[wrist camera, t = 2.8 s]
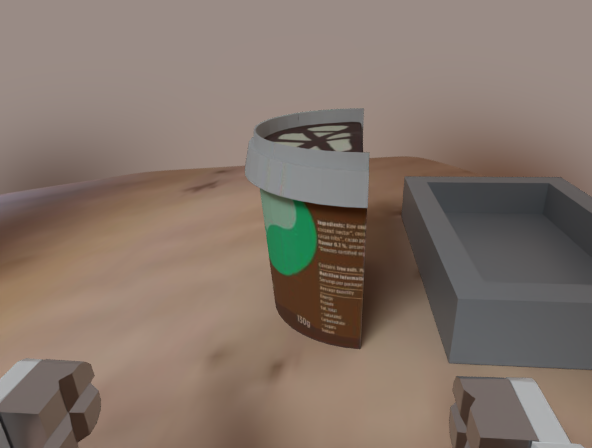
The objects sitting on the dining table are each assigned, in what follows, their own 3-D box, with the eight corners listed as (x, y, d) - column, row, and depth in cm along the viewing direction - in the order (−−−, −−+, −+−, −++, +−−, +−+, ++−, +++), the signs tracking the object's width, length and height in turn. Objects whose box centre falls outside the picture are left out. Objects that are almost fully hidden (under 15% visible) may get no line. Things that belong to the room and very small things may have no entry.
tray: (449, 363, 20) (458, 298, 19) (401, 216, 37) (404, 176, 35) (732, 376, 19) (764, 308, 18) (551, 218, 35) (561, 177, 34)
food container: (273, 247, 32) (266, 107, 28) (358, 250, 31) (363, 106, 27) (230, 361, 21) (208, 155, 17) (360, 370, 20) (370, 156, 16)
